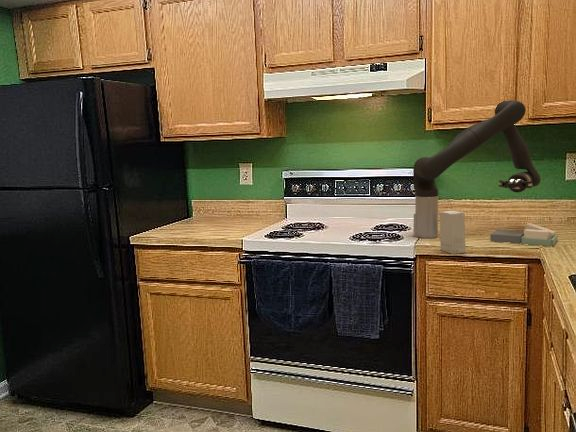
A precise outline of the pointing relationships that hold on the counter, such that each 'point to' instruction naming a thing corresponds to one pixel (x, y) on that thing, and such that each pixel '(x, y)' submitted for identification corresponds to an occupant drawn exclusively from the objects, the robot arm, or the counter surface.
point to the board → (506, 236)
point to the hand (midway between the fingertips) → (510, 185)
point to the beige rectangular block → (536, 227)
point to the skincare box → (452, 231)
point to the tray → (539, 241)
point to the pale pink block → (536, 234)
